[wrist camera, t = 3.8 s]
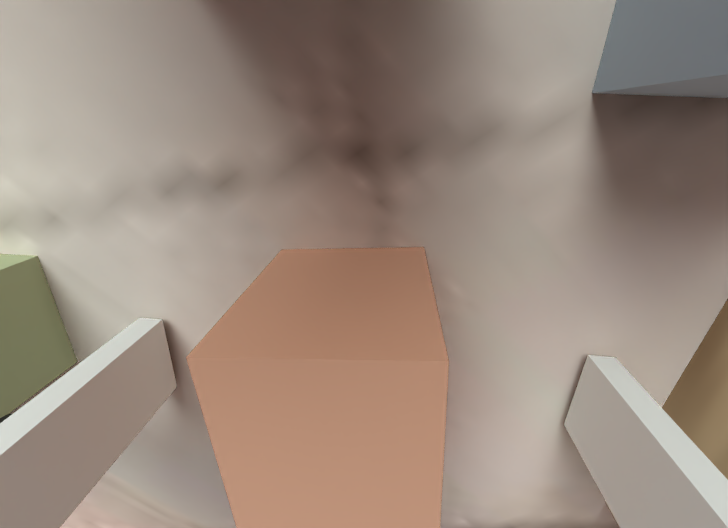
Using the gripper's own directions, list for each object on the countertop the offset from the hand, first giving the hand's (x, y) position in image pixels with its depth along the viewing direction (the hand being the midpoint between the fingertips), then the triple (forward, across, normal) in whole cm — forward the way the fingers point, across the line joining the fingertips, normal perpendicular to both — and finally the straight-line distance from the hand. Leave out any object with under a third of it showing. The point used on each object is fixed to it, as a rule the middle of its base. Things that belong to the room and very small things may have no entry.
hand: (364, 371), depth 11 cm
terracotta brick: (0, 0, 0) cm, 0 cm away
